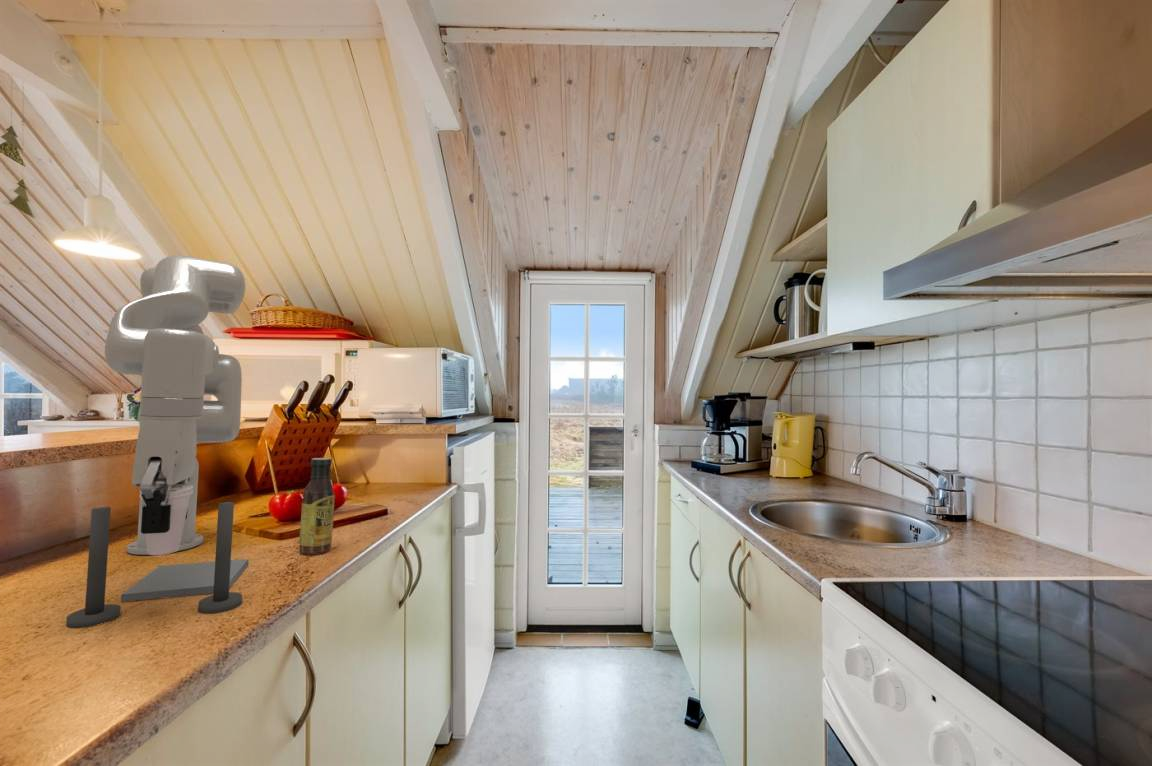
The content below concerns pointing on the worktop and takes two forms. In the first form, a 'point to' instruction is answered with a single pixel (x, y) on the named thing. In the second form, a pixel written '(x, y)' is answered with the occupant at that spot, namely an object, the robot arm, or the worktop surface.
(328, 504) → the sauce bottle
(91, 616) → the post
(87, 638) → the worktop surface
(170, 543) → the smoothie
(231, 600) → the post
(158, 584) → the slate board
